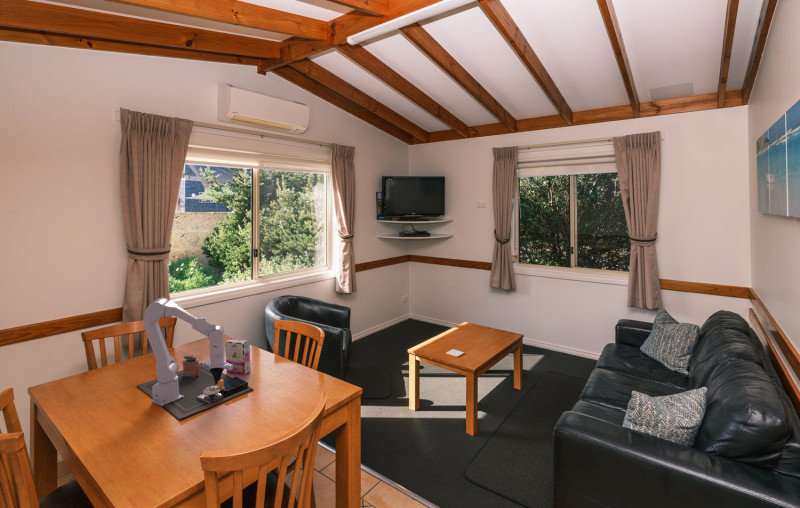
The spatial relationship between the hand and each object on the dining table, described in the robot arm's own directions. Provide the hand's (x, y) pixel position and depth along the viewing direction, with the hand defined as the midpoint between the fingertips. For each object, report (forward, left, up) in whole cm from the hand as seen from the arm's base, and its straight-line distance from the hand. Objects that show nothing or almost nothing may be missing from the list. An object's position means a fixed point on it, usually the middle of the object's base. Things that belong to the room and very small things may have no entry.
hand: (217, 382), depth 179 cm
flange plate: (-3, -1, -3) cm, 4 cm away
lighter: (+7, +28, -5) cm, 29 cm away
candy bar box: (+21, +11, -5) cm, 24 cm away
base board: (-3, 0, -5) cm, 6 cm away
